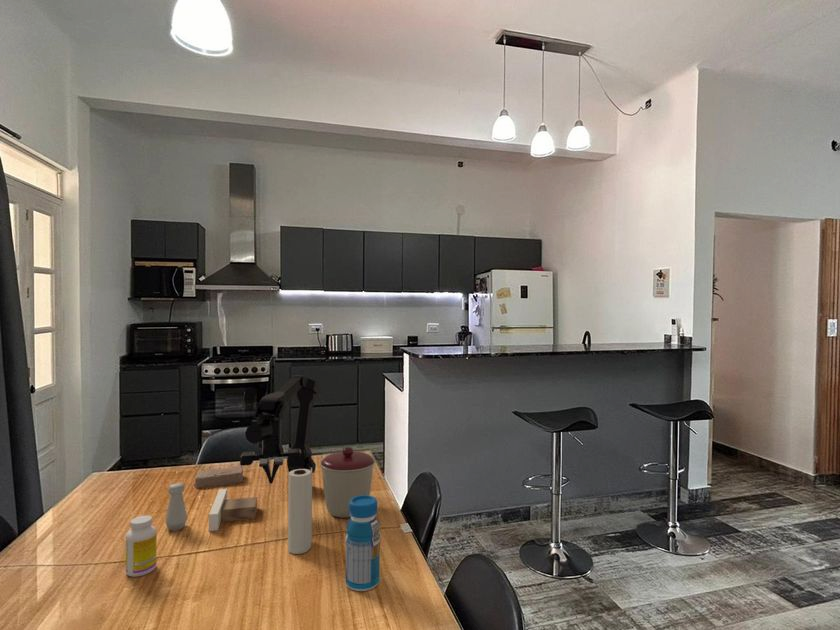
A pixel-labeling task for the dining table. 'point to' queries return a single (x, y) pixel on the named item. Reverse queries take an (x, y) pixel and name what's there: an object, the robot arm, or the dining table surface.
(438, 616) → the dining table surface
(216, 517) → the plank
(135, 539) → the supplement bottle
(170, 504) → the salt shaker
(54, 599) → the dining table surface
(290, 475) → the paper towel roll
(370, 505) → the beverage bottle
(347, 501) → the canister
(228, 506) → the walnut block
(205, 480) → the brick
